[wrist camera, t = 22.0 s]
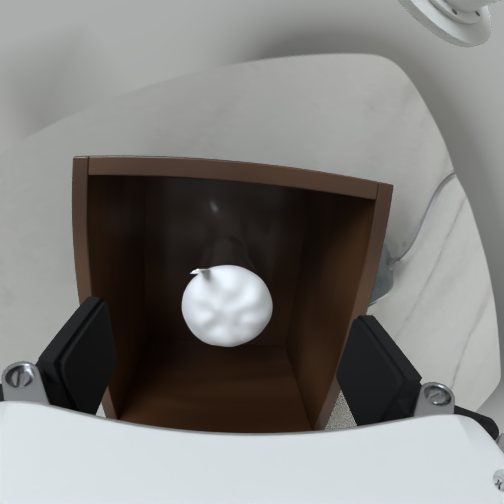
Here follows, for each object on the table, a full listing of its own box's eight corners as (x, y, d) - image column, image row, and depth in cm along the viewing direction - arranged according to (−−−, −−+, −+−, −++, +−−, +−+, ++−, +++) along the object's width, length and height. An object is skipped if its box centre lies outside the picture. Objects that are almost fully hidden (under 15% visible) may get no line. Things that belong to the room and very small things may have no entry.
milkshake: (236, 207, 21) (245, 247, 12) (265, 270, 23) (292, 346, 13) (180, 234, 22) (147, 291, 12) (212, 294, 23) (206, 379, 14)
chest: (140, 156, 20) (72, 156, 10) (319, 171, 22) (394, 185, 12) (141, 337, 25) (108, 426, 15) (290, 347, 26) (321, 436, 16)
